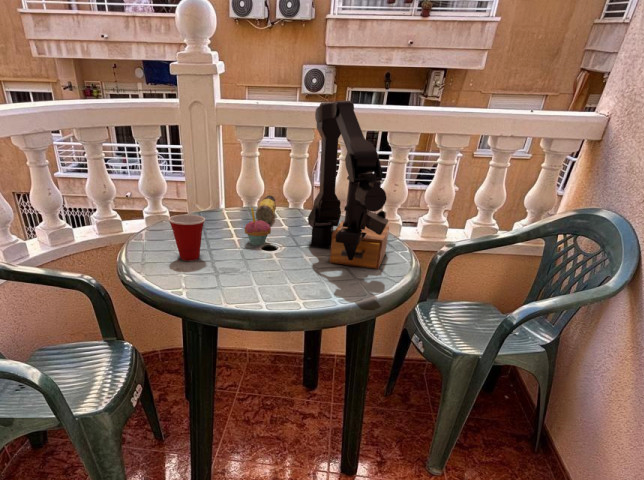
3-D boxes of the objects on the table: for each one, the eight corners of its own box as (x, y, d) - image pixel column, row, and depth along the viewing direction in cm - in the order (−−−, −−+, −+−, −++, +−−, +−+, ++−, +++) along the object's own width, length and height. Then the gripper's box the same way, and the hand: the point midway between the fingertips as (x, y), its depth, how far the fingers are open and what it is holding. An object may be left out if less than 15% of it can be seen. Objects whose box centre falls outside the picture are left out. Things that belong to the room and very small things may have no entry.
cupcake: (251, 249, 155) (251, 210, 147) (240, 241, 161) (239, 203, 153) (275, 245, 158) (276, 206, 151) (263, 237, 164) (263, 200, 157)
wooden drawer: (373, 273, 138) (376, 249, 133) (327, 266, 141) (329, 243, 137) (382, 252, 150) (386, 230, 146) (340, 247, 154) (342, 225, 150)
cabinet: (378, 269, 142) (382, 240, 137) (329, 262, 146) (332, 234, 141) (385, 253, 152) (389, 225, 147) (339, 247, 156) (342, 220, 151)
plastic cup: (214, 254, 151) (212, 214, 144) (196, 266, 143) (192, 225, 136) (184, 248, 155) (181, 210, 148) (165, 260, 147) (160, 219, 140)
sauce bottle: (275, 211, 171) (281, 195, 186) (258, 204, 170) (266, 188, 186) (268, 228, 175) (274, 210, 190) (252, 221, 174) (259, 203, 189)
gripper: (382, 213, 118) (373, 275, 127) (393, 196, 133) (384, 253, 142) (338, 209, 121) (332, 269, 131) (353, 193, 136) (347, 248, 145)
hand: (350, 259), depth 137 cm, fingers closed
